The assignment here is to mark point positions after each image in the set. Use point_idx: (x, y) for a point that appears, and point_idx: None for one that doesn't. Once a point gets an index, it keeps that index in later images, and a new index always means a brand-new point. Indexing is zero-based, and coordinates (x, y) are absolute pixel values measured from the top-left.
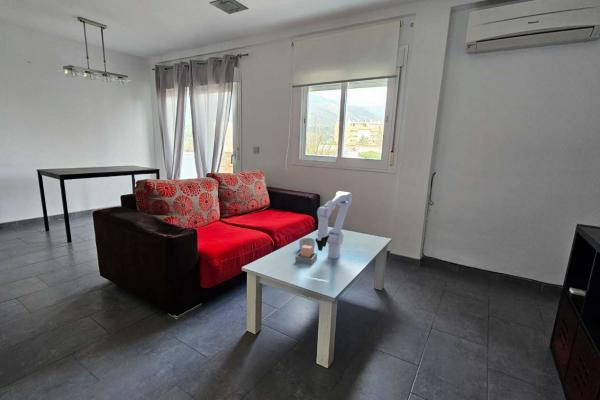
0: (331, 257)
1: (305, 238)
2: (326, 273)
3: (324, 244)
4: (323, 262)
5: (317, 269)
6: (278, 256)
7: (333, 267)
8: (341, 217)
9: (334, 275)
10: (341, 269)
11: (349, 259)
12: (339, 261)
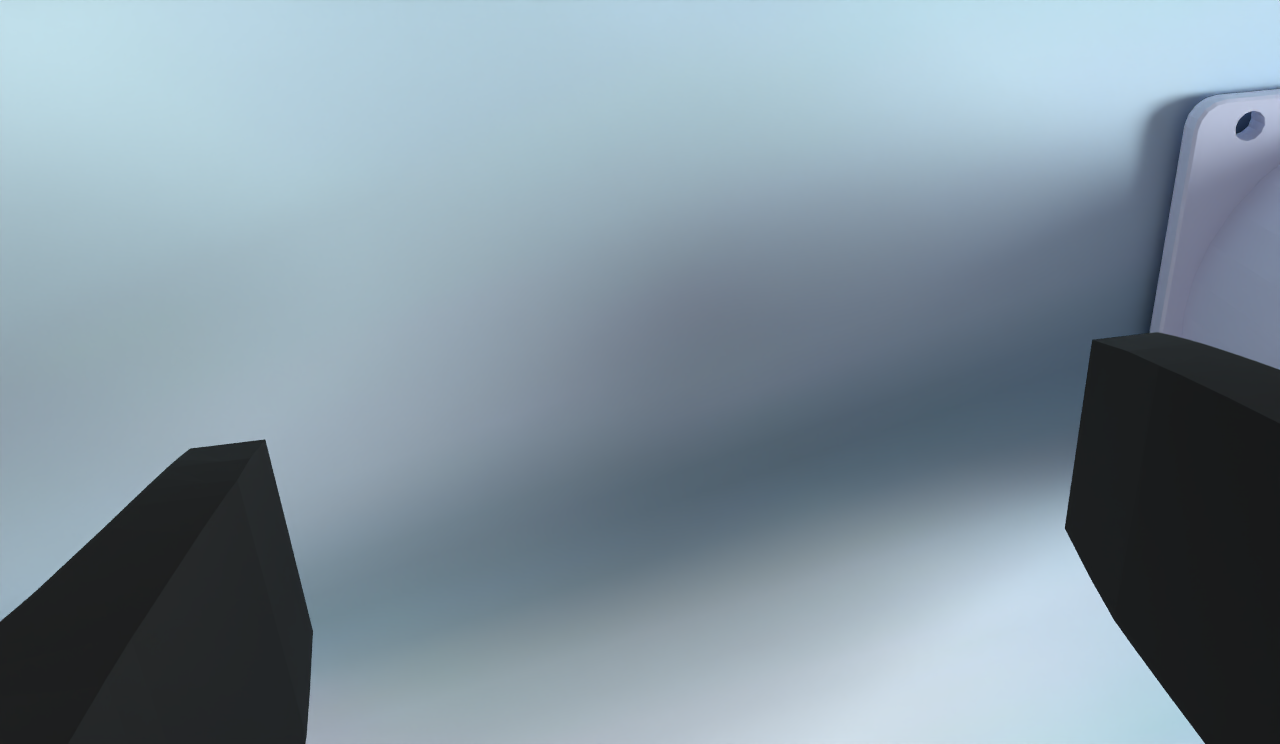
0: (1203, 300)
1: None
2: (46, 525)
3: (1157, 586)
4: (802, 144)
5: (119, 184)
6: None
7: (569, 537)
8: None
9: None
10: (553, 729)
11: None
12: (1061, 527)
